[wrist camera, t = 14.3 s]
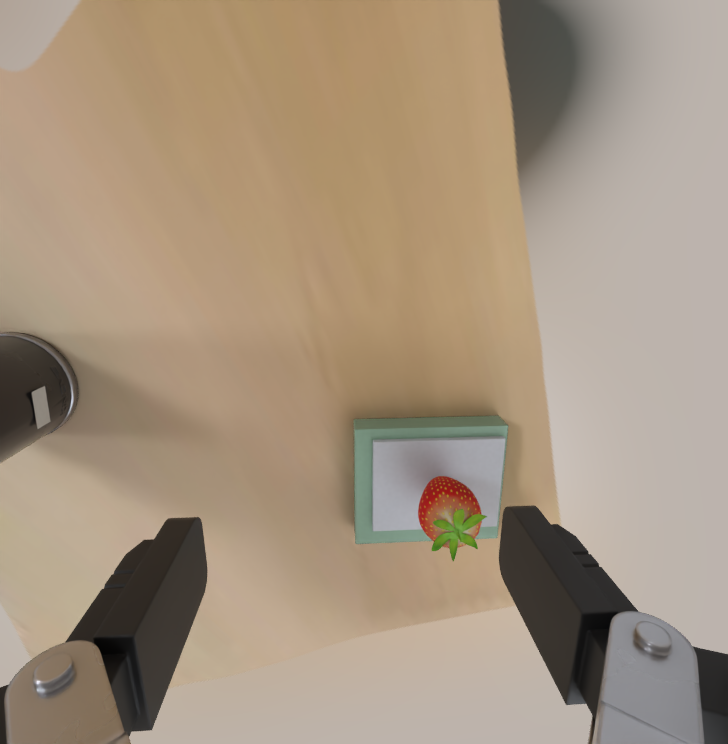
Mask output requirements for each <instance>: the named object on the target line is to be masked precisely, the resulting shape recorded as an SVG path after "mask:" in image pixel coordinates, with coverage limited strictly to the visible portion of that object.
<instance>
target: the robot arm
mask: <svg viewBox="0 0 728 744" xmlns="http://www.w3.org/2000/svg"><path fill="white" fill-rule="evenodd" d="M77 401H78V384H77V380H76V377H75V374H74V372H73V370H72V368H71V367H70V365H69V363H68V362H67V361H66V359H65V358H64V357H63V356H62V355H61V354H60V353H59V352H58V351H57V350H56V349H55V348H53V347H52V346H51V345H49V344H48V343H46V342H44V341H42V340H40V339H38V338H36V337H33V336H30V335H27V334H22V333H14V332H7V333H0V463H2V462H4V461H5V460H7V459H8V458H10V457H11V456H13V455H15V454H16V453H18V452H19V451H21V450H23V449H24V448H26V447H27V446H29V445H31V444H32V443H34V442H35V441H37V440H38V439H40V438H42V437H43V436H45V435H47V434H49V433H51V432H53V431H55V430H56V429H58V428H59V427H61V426H62V425H63V424H65V423H66V422H67V421H68V420H69V419H70V417H71V416H72V414H73V413H74V411H75V408H76V405H77ZM499 565H500V571H501V575H502V578H503V580H504V583H505V585H506V586H507V588H508V590H509V592H510V594H511V596H512V598H513V600H514V602H515V604H516V606H517V608H518V610H519V612H520V614H521V616H522V618H523V620H524V622H525V624H526V626H527V628H528V630H529V632H530V634H531V636H532V638H533V640H534V642H535V644H536V646H537V648H538V650H539V652H540V654H541V656H542V658H543V660H544V662H545V663H546V666H547V668H548V670H549V672H550V674H551V676H552V678H553V679H554V682H555V684H556V685H557V687H558V689H559V691H560V693H561V695H562V697H563V699H564V701H565V703H566V705H571V704H587V706H588V708H589V709H590V711H591V713H592V715H593V716H592V721H591V726H590V733H589V739H588V744H728V654H723V653H719V652H714V651H710V650H705V649H700V648H696V647H693V646H692V645H691V644H690V642H689V641H688V640H687V639H686V638H685V637H684V636H683V635H682V634H681V633H680V632H679V631H678V630H677V629H675V628H674V627H673V626H671V625H669V624H668V623H666V622H664V621H663V620H661V619H659V618H656V617H654V616H652V615H649V614H645V613H641V612H638V610H637V609H636V608H635V607H634V606H633V605H632V603H631V602H630V601H629V600H628V599H627V597H626V596H625V595H624V594H623V593H622V591H621V590H620V589H619V588H618V587H617V586H616V584H615V583H614V582H613V581H612V579H611V578H610V577H609V576H608V575H607V573H606V572H605V571H604V570H603V569H602V567H599V564H598V563H597V561H596V560H595V559H594V558H593V557H592V555H591V554H588V551H587V550H586V548H585V547H584V546H583V545H582V544H581V542H580V541H579V540H578V539H577V537H576V536H574V535H573V534H571V533H570V532H568V531H567V530H565V529H564V528H562V527H561V526H559V525H558V524H553V525H551V524H550V523H549V522H548V521H547V519H546V518H545V517H544V515H543V514H542V513H541V512H540V510H539V509H538V508H537V507H536V506H510V507H506V508H505V509H504V512H503V520H502V530H501V540H500V550H499ZM206 583H207V561H206V553H205V545H204V536H203V528H202V522H201V519H200V518H199V517H193V518H169V519H167V520H166V522H165V523H164V525H163V526H162V528H161V529H160V531H159V533H158V534H157V536H156V537H155V539H154V540H144V541H142V542H141V543H140V544H139V545H137V546H136V547H135V548H133V549H132V550H131V551H130V552H128V553H127V554H126V555H125V556H124V558H123V559H122V561H121V562H120V564H119V565H118V567H117V568H116V570H115V571H114V575H111V577H110V578H109V580H108V581H107V583H106V584H105V587H104V589H102V590H101V591H100V593H99V594H98V596H97V597H96V599H95V600H94V601H93V603H92V604H91V606H90V607H89V609H88V610H87V612H86V613H85V615H84V616H83V617H82V619H81V620H80V622H79V623H78V625H77V626H76V628H75V629H74V630H73V632H72V633H71V635H70V636H69V638H68V639H67V641H66V642H65V643H62V644H59V645H57V646H54V647H52V648H50V649H48V650H46V651H44V652H42V653H41V654H39V655H38V656H36V657H35V658H33V659H32V660H31V661H29V662H28V663H27V664H26V665H25V666H24V667H23V668H21V669H20V671H19V672H18V673H17V674H16V675H15V676H14V678H13V679H12V681H11V682H10V684H9V685H6V686H3V687H1V688H0V744H131V743H130V740H129V736H130V733H131V731H146V730H152V728H153V725H154V723H155V720H156V718H157V715H158V712H159V710H160V707H161V704H162V702H163V699H164V697H165V694H166V691H167V689H168V686H169V684H170V681H171V679H172V676H173V673H174V671H175V668H176V666H177V663H178V660H179V658H180V655H181V653H182V650H183V647H184V645H185V642H186V640H187V637H188V634H189V632H190V629H191V627H192V624H193V621H194V619H195V616H196V614H197V611H198V608H199V606H200V603H201V600H202V598H203V595H204V592H205V588H206Z"/></svg>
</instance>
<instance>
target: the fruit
mask: <svg viewBox="0 0 728 744" xmlns="http://www.w3.org/2000/svg"><path fill="white" fill-rule="evenodd" d="M486 517H487V516H485V515H482V513H481V508H480V505H479V503H478V501H477V499H476V497H475V495H474V494H473V492H472V491H471V490H470V489H469V488H468V487H467V486H466V485H464V484H463V483H461V482H459V481H458V480H455V479H453V478H450V477H447V476H438V477H435V478H433V479H432V480H431V481H430V482H429V483H428V484H427V486H426V487H425V489H424V491H423V494H422V496H421V499H420V502H419V508H418V518H419V522H420V525H421V527H422V529H423V531H424V532H425V534H426V535H427V536H428V537H429V538H430V539H431V540H433V541H434V544H433V547H432V551H436V550H439V549H440V548H441V547H442V546H444V547H448V548H450V553H451V557H452V560H453V561H454V559H455V555H456V551H457V547H461V546H464V545H466V544H467V545H470V546H472V547H475V548H476V549H478V548H477V544H476V542H475V540H474V539H475V538H476V536H477V535H478V533H479V530H480V527H481V523H482V520H483V519H484V518H486Z"/></svg>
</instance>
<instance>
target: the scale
mask: <svg viewBox="0 0 728 744" xmlns="http://www.w3.org/2000/svg"><path fill="white" fill-rule="evenodd" d="M507 434H508V425H507V424H506V423H505V422H504V421H503V420H502V419H501V418H500V417H499V416H463V417H422V418H381V419H354V522H355V543H356V544H369V543H393V542H416V541H433V540H431V539H430V538H429V537H428V536H427V535H426V534H425V532H424V531H423V529H422V527H421V525H420V522H419V518H418V508H419V502H420V499H421V496H422V494H423V491H424V489H425V487H426V486H427V484H428V483H429V482H430V481H431V480H432V479H433V478H435V477H438V476H447V477H450V478H453V479H455V480H458V481H459V482H461V483H463V484H464V485H466V486H467V487H468V488H469V489H470V490H471V491H472V492H473V494H474V495H475V497H476V499H477V501H478V503H479V505H480V508H481V513H482V515H485V516H487V517H486V518H484V519H483V520H482V523H481V527H480V530H479V533H478V535H477V536H476V538H475V539H488V538H497V536H498V526H499V516H500V505H501V495H502V485H503V475H504V465H505V455H506V444H507Z"/></svg>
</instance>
